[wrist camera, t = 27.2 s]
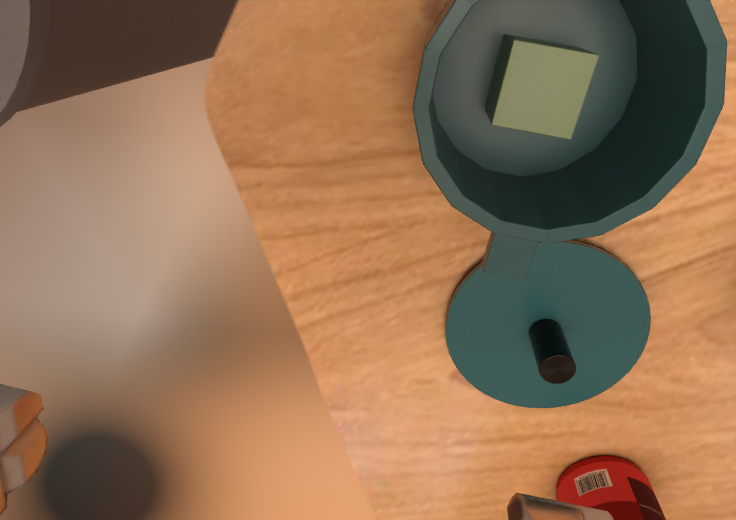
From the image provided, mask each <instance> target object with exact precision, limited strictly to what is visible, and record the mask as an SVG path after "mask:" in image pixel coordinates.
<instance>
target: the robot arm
mask: <svg viewBox="0 0 736 520" xmlns="http://www.w3.org/2000/svg"><path fill="white" fill-rule="evenodd" d="M42 411H43V404H42V399H41V395H40V394H37V393H35V392H31V391H27V390H23V389H19V388H14V387H11V386H6V385H2V384H0V515H1V514H2V513H3V512H4V511H5V509H6V508H7V494H9V493H11V492H13V491H15V490H17V489H19V488H21V487H23V486H25V485H26V484H27V483H28V482H29V480H30V479H31V478H32V477H33V475H34V474H35V473H36V472H37V470H38V468H39V466H40V464H41V462H42V460H43V458H44V456H45V454H46V449H47V443H48V436H47V429H46V428H45V427H44V425H43V424H42V423H41V422H40V421H39V420H38V418H37V416H38V415H39V414H40V413H41V412H42ZM507 510H508V518H509V520H614V519H613V517H612V516H611V515H610V513H609V512H608V511H603V510H598V509H594V508H589V507H584V506H579V505H574V504H571V503H566V502H561V501H555V500H550V499H545V498H540V497H535V496H530V495H525V494H520V493H516V494H515V495H514V496H512V498H511V500H510V502H509V504H508V507H507Z"/></svg>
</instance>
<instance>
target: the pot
mask: <svg viewBox="0 0 736 520" xmlns="http://www.w3.org/2000/svg"><path fill="white" fill-rule="evenodd" d="M504 34H508V35H514V36H519V37H525V38H530V39H536V40H541V41H547V42H553V43H558V44H564V45H569V46H575V47H579V48H582V49H585V50H588V51H590V52H593V53H596V54H598V55H599V59H598V62H597V65H596V67H595V70H594V73H593V76H592V79H591V82H590V85H589V88H588V91H587V94H586V97H585V100H584V103H583V106H582V109H581V112H580V115H579V118H578V121H577V124H576V127H575V130H574V133H573V136H572V139H570V140H568V139H563V138H558V137H552V136H547V135H542V134H536V133H531V132H525V131H520V130H515V129H509V128H504V127H498V126H493V125H491V123H490V120H489V118H488V116H487V114H486V111H485V106H486V102H487V98H488V94H489V90H490V86H491V82H492V78H493V75H494V71H495V67H496V63H497V59H498V55H499V51H500V47H501V43H502V39H503V35H504ZM726 41H727V40H726V37H725V35H724V33H723V30H722V28H721V25H720V23H719V21H718V18H717V16H716V14H715V11H714V9H713V7H712V4H711V2H710V0H449V1H448V2H447V4H446V5H445V7H444V9H443V10H442V12H441V13H440V15H439V16H438V18H437V20H436V21H435V23H434V25H433V26H432V28H431V29H430V31H429V33H428V34H427V37H426V42H425V47H424V52H423V57H422V62H421V67H420V72H419V77H418V82H417V87H416V92H415V97H414V102H413V115H414V120H415V125H416V131H417V136H418V141H419V147H420V152H421V157H422V161H423V164H424V166H425V167H426V169H427V170H428V172H429V173H430V175H431V176H432V178H433V179H434V181H435V182H436V184H437V185H438V187H439V188H440V190H441V191H442V193H443V194H444V196H445V197H446V198H447V200H448V201H449V203H450V204H451V205H452V206H453V207H454V208H456V209H457V210H459V211H460V212H462V213H463V214H465V215H466V216H468V217H469V218H471V219H472V220H474V221H476V222H477V223H479V224H480V225H482V226H483V227H485V228H486V229H488V230H489V231H491V235H490V238H489V241H488V245H487V248H486V252H485V255H484V258H483V262H482V270H483V273H486V274H491V275H496V276H501V277H506V278H511V279H516V280H521V281H525V280H526V277H527V274H528V272H529V269H530V266H531V263H532V260H533V257H534V254H535V251H536V249H537V246H538V243H539V242H540V243H546V244H548V243H554V242H561V241H567V240H574V239H580V238H587V237H593V236H599V235H602V234H604V233H606V232H608V231H610V230H612V229H614V228H616V227H618V226H620V225H622V224H624V223H625V222H627V221H629V220H631V219H633V218H635V217H637V216H639V215H641V214H643V213H645V212H647V211H649V210H651V209H652V208H653V207H655V206H656V205H657V204H658V203H659V202H660V201H661V200H662V199H663V198H664V197H665V196H666V195H667V194H668V193H669V192H670V191H671V189H672V188H673V187H674V186H675V185H676V184H677V183H678V182H679V181H680V180H681V179H682V178H683V177H684V176H685V175H686V174H687V173H688V172H689V171H690V170H691V169H692V168H693V167H694V166H695V165H696V162H697V161H698V159H699V157H700V155H701V153H702V151H703V149H704V146H705V144H706V142H707V140H708V138H709V136H710V133H711V131H712V129H713V127H714V125H715V123H716V120H717V118H718V116H719V114H720V112H721V110H722V108H723V105H724V94H725V74H726V54H727V42H726Z"/></svg>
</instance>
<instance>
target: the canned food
mask: <svg viewBox="0 0 736 520" xmlns="http://www.w3.org/2000/svg"><path fill="white" fill-rule="evenodd" d="M556 498H557V501H561V502H566V503H571V504H574V505H579V506H584V507H589V508H594V509H598V510H603V511H608V512H609V513H610V515H611V516H612V517H613V519H614V520H666V519H665V516H664V514H663V512H662V510H661V507H660V505H659V503H658V501H657V498H656V496H655V494H654V492H653V489H652V487H651V485H650V483H649V481H648V478H647V477H646V476H645V475H644V473H643V472H642V471H641V470H640V469H639V468H638V467H637V466H636V465H634V464H633V463H631V462H629V461H627V460H625V459H622V458H618V457H612V456H598V457H592V458H588V459H585V460H582V461H580V462H578V463H575V464H574V465H572V466H571V467H569V468H568V469H567V470H566V471H565V472H564V473H563V475H562V476H561V478H560V479H559V482H558V486H557V496H556Z"/></svg>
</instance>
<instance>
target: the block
mask: <svg viewBox="0 0 736 520" xmlns="http://www.w3.org/2000/svg"><path fill="white" fill-rule="evenodd" d="M598 59H599V55H598V54H596V53H593V52H590V51H588V50H585V49H582V48H579V47H575V46H569V45H564V44H558V43H553V42H547V41H541V40H536V39H530V38H525V37H519V36H514V35H508V34H504V35H503V39H502V43H501V47H500V51H499V55H498V59H497V63H496V67H495V71H494V75H493V78H492V82H491V86H490V90H489V94H488V98H487V102H486V106H485V111H486V114H487V116H488V118H489V120H490V123H491V125H493V126H498V127H504V128H509V129H515V130H520V131H525V132H531V133H536V134H542V135H547V136H552V137H558V138H563V139H568V140H570V139H572V136H573V133H574V130H575V127H576V124H577V121H578V118H579V115H580V112H581V109H582V106H583V103H584V100H585V97H586V94H587V91H588V88H589V85H590V82H591V79H592V76H593V73H594V70H595V67H596V65H597V62H598Z"/></svg>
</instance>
